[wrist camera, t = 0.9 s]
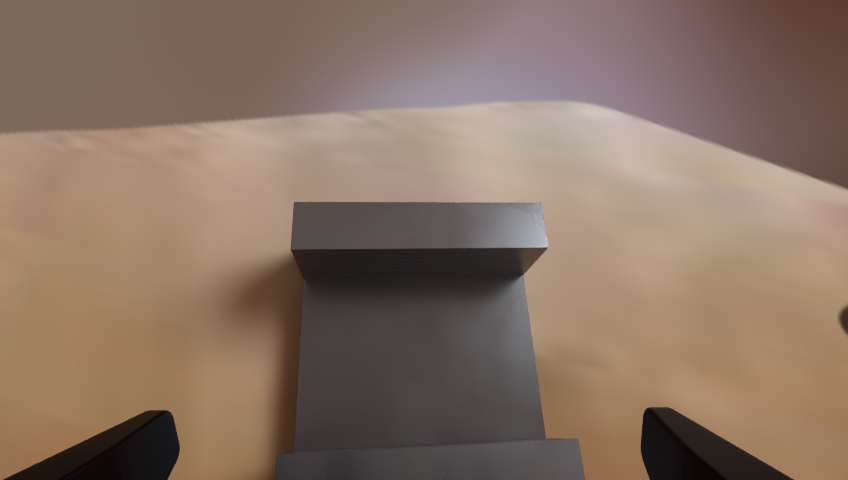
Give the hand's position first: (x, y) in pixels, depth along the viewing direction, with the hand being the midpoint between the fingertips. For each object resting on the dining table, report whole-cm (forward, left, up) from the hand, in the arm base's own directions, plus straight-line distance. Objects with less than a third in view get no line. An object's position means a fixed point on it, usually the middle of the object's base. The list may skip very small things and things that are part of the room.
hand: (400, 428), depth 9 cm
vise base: (+2, -1, -12) cm, 12 cm away
